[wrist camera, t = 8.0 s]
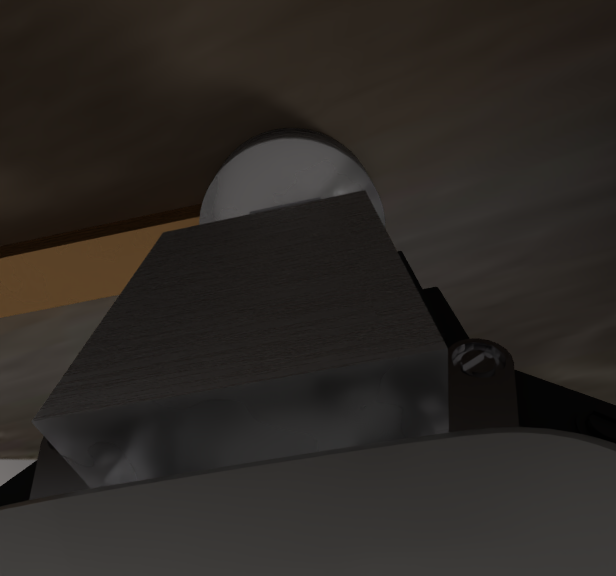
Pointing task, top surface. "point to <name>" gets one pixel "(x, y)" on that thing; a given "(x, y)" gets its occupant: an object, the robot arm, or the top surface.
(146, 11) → the top surface
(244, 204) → the hammer
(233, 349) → the white block
